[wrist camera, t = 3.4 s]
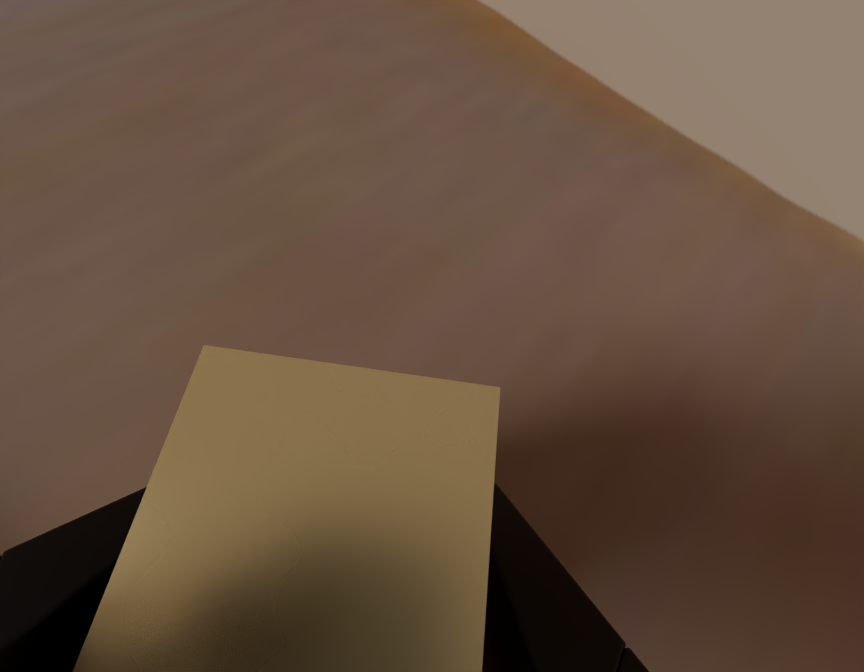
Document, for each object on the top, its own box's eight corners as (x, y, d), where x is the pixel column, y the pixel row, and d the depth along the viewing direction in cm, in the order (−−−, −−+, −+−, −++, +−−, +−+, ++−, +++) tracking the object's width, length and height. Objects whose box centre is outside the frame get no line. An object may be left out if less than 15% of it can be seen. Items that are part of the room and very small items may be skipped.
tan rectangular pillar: (424, 670, 12) (482, 983, 3) (292, 649, 12) (-21, 905, 3) (444, 496, 14) (512, 389, 5) (330, 479, 14) (203, 345, 5)
